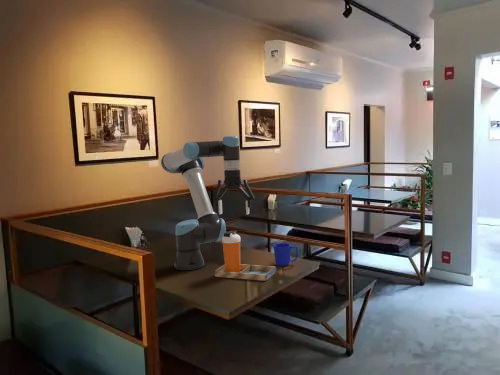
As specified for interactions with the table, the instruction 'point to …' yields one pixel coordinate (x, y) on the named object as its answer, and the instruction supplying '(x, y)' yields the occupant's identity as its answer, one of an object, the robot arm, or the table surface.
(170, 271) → the table surface
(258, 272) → the caddy
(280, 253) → the mug
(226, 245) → the shaker bottle
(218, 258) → the table surface
